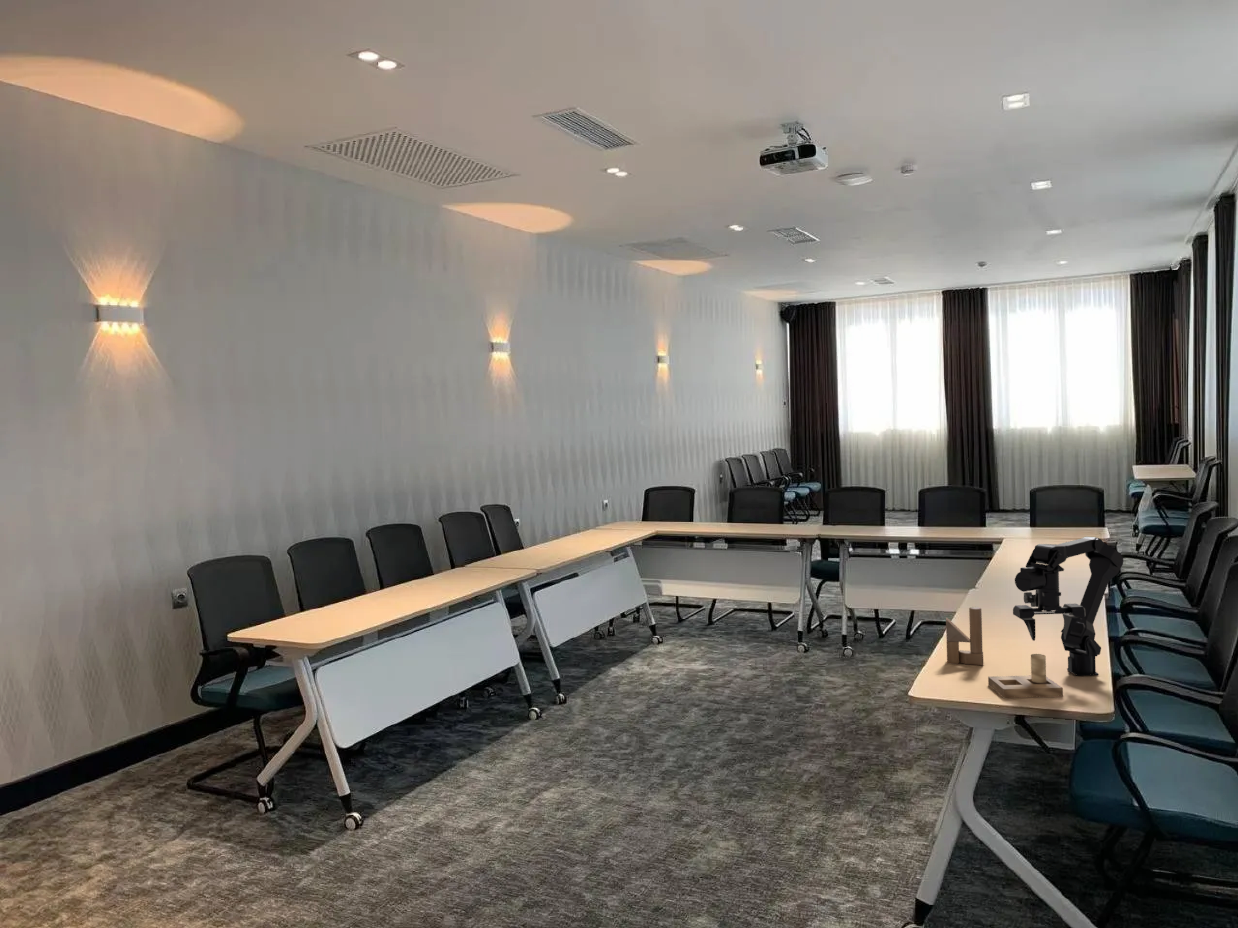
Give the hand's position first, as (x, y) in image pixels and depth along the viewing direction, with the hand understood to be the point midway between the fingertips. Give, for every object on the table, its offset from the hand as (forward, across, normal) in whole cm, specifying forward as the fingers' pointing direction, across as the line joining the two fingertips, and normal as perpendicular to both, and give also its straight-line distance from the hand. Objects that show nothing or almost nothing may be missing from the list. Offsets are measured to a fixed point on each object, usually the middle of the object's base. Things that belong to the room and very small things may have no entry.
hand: (1049, 639), depth 256 cm
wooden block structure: (+12, +18, -20) cm, 30 cm away
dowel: (+12, +7, +9) cm, 16 cm away
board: (+12, +11, +9) cm, 19 cm away
